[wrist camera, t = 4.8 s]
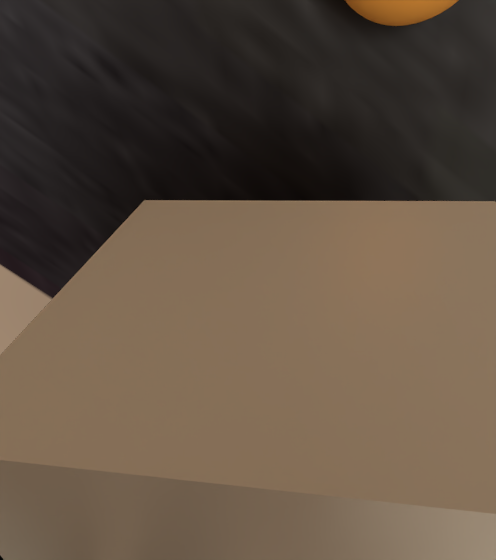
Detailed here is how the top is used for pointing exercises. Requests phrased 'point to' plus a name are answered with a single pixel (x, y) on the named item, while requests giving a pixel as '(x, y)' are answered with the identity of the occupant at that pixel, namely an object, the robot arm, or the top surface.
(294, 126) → the top surface
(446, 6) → the ball
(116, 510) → the cream cube
